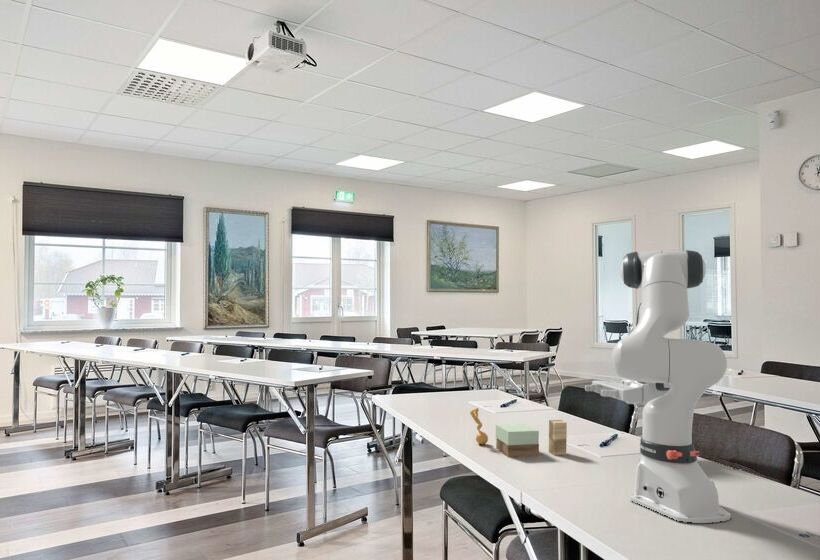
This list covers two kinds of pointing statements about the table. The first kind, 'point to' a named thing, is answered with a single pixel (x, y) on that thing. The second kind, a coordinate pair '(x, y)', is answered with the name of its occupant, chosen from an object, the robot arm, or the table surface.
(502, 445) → the tower base
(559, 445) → the oak post
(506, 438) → the pale green square slab
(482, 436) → the figurine
